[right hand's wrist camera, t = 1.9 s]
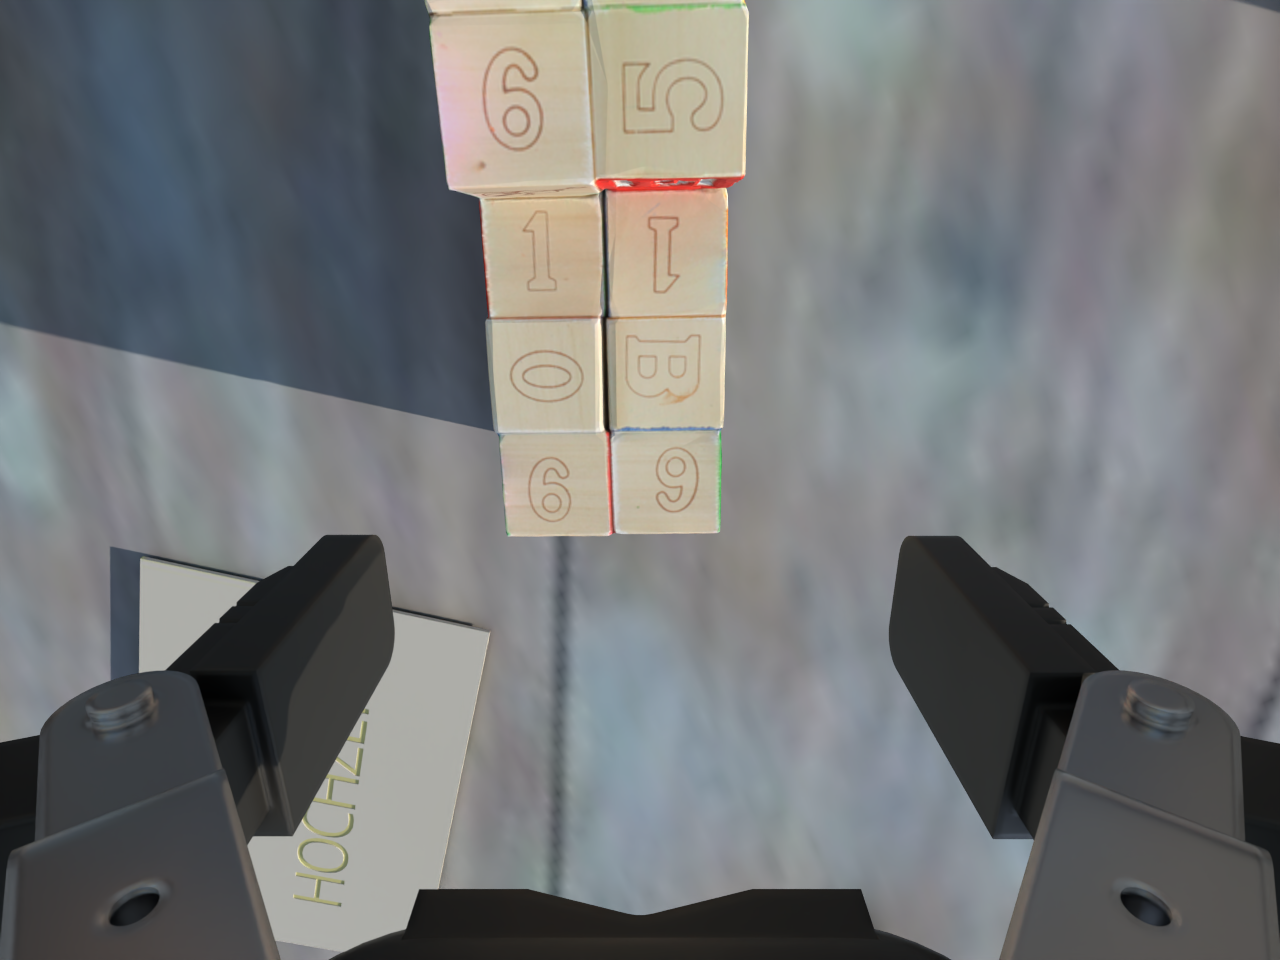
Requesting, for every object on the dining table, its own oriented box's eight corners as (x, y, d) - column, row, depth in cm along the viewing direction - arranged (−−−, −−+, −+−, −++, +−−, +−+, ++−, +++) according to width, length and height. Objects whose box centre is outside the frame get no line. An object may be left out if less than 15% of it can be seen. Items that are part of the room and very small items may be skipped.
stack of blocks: (696, 444, 29) (733, 591, 17) (541, 445, 29) (474, 593, 17) (710, -232, 22) (788, -761, 10) (503, -229, 22) (343, -755, 10)
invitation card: (421, 967, 38) (135, 917, 37) (423, 962, 39) (139, 912, 37) (489, 633, 31) (138, 559, 30) (490, 630, 32) (143, 556, 30)
